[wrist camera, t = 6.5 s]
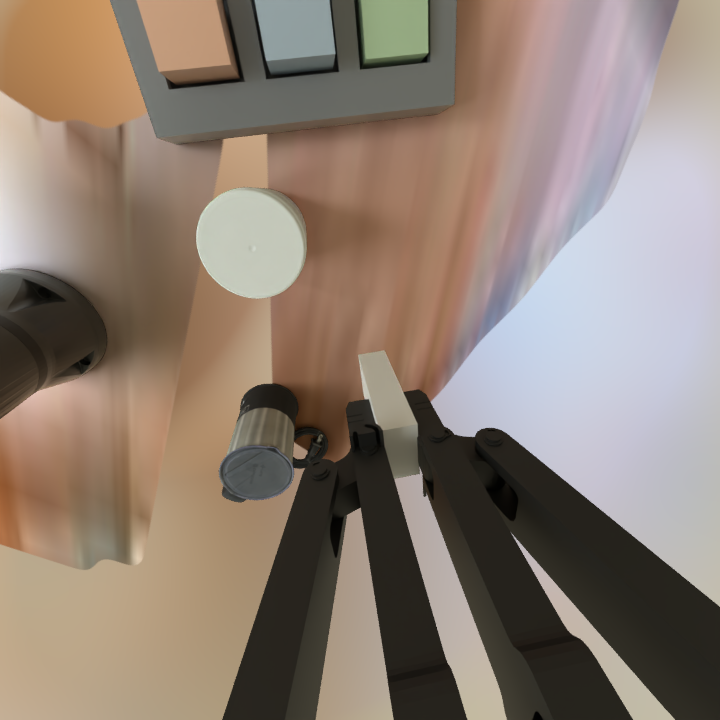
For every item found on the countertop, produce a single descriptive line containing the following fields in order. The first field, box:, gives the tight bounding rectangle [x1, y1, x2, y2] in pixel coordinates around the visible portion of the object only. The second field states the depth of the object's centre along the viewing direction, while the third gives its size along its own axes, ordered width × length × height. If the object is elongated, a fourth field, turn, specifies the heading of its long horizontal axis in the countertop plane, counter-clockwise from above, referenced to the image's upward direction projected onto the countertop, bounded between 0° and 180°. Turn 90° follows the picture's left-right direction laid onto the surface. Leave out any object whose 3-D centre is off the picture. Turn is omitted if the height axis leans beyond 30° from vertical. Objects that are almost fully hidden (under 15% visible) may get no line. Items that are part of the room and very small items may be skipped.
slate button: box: [255, 0, 335, 75], centre depth 28 cm, size 6×6×4 cm
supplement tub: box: [196, 187, 307, 299], centre depth 35 cm, size 10×10×15 cm
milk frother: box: [219, 384, 328, 502], centre depth 49 cm, size 14×16×15 cm
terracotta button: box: [137, 0, 240, 85], centre depth 28 cm, size 6×6×4 cm
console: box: [110, 0, 457, 144], centre depth 31 cm, size 30×14×5 cm, turn 96°
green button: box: [354, 0, 428, 70], centre depth 31 cm, size 6×6×4 cm
